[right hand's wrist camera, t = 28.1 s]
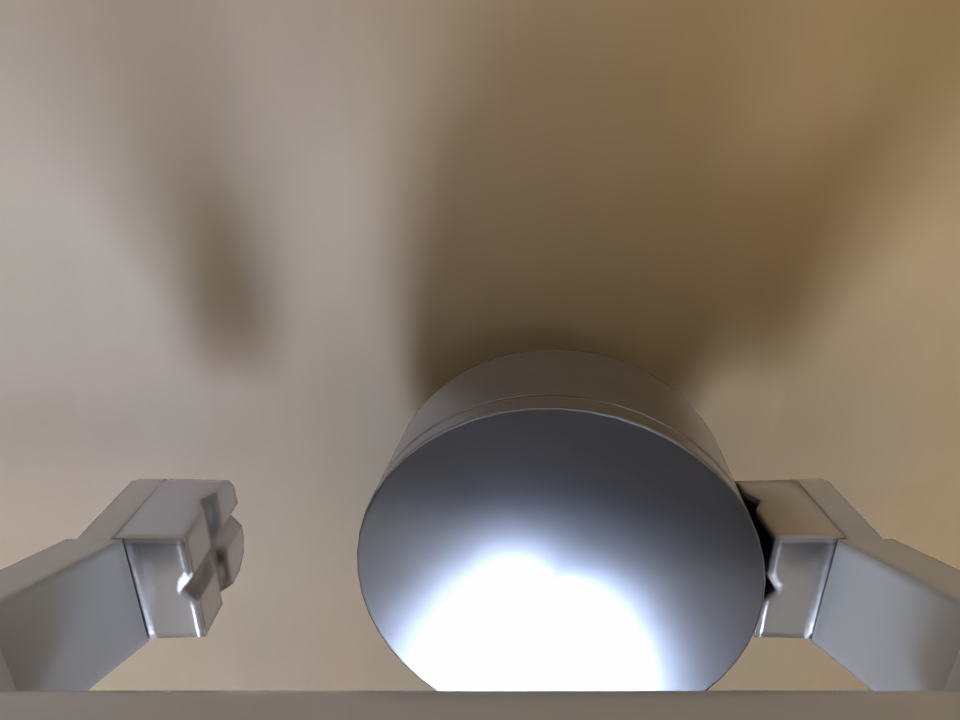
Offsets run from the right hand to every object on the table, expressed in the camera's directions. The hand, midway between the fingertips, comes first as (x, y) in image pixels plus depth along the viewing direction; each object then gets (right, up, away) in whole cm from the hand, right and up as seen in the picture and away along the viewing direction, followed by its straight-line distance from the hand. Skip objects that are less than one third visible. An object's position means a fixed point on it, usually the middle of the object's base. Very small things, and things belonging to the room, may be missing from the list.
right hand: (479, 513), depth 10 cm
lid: (+1, -1, -1) cm, 2 cm away
